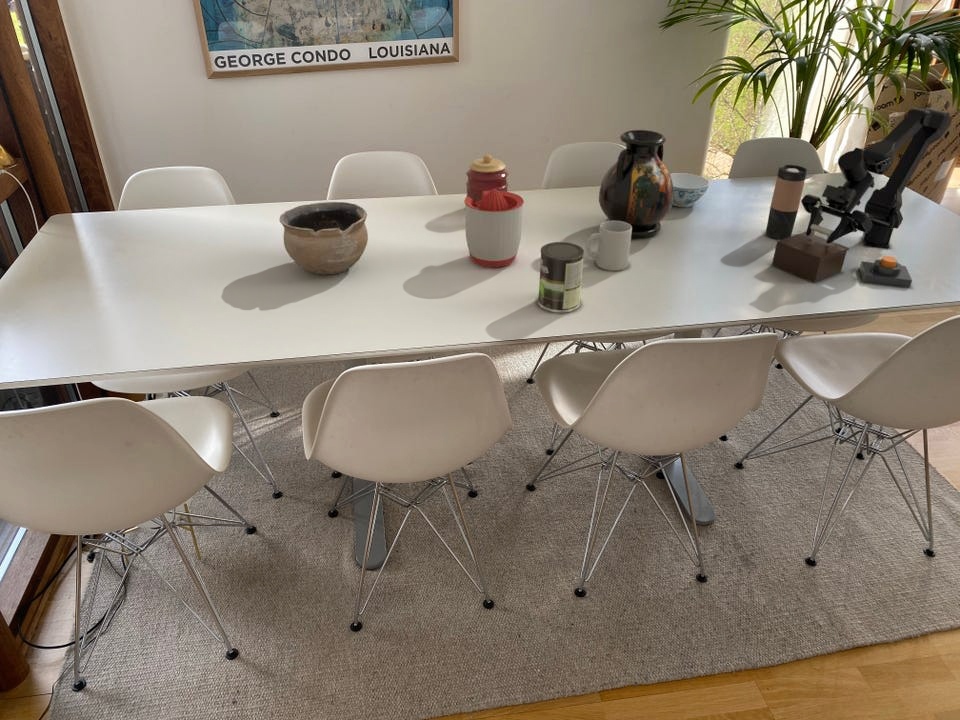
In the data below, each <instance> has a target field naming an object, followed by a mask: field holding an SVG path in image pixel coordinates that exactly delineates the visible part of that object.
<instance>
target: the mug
mask: <svg viewBox="0 0 960 720" xmlns="http://www.w3.org/2000/svg"><path fill="white" fill-rule="evenodd" d="M605 221H606V220H605ZM605 221H603V222H601V224H599V230H598V232H595V233H591V234H590V235H589V236H588V238H587V241H586V254H587V255H588V257H589V258H594V259H595V258H596V265H597V267H598V268H600V269H603V270H605V271H612V272H617V271H622V270H625V269H627V268H628V266H629V259H630V251H631V250H630V249H631V242H632V241H631V240H632V238H631V233H632V226H631V225H630V224H628V223H626V222H622V221H606V222H605ZM594 240H598V242H597V249H596V251H592V250H591V246H592V243H593V241H594Z"/></svg>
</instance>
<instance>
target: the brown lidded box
mask: <svg viewBox="0 0 960 720" xmlns="http://www.w3.org/2000/svg"><path fill="white" fill-rule="evenodd" d="M775 244H776V245H775V249H774V253H773V258H772V263H771V266H772V267H776V268H777V269H780V270H783V271H784V272H786V273H790V274H792V275H794V276H796V277H799V278H801V279H804V280H807V281H809V282H811V283H814V284H815V283H818V282H821V281H823V280H826V279H828V278H831V277H833V276H835V275H838V274H841V273H842V270H843V265H844V262H845V258H846V255H847V252H848V251H845V252H842V253H840V254H837V255H834V256H831V257H829V258H826V259H823V260H821V261H820V260H818V259H815V258H812V257H810V256H807V255H805V254H802V253H800V252H797V251H795V250H792V249H790V248H787V247H785V246H782V245H780V244H777V243H775Z"/></svg>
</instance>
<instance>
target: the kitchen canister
mask: <svg viewBox="0 0 960 720" xmlns="http://www.w3.org/2000/svg"><path fill="white" fill-rule="evenodd" d="M468 168H469V169H468V170H466V172H465V174H466V177H467V181H466V183H465V184H466V197H467V196H468V197H469V198H471V199H473V200H472V203H477V202H479V201H482V191H491V190H492V189H496V190H497V191H506V192H508V186H509V183H508V181H507V178H508V176H509V171H507V170H506V163H504V162H502V161H501V160H500V159H497V158H494V157H492V155H491V154H488V153H486V154H484V155H483V157H481V158H477V159H475V160H473V161H472V162H471V163H469V164H468Z"/></svg>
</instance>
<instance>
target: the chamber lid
mask: <svg viewBox="0 0 960 720" xmlns="http://www.w3.org/2000/svg"><path fill="white" fill-rule="evenodd" d="M810 229H811V233H810V235H809V236H807V235H806V231H803V232H800V233H797V234H794V235H791V237H788V238H785V239H782V240H779V239H778V240H777V241H776V244H780V245H782V246H785V247H787V248H790V249H792V250H795V251H797V252H800V253H802V254H805V255H807V256H810V257H812V258H815V259H818V260H820V261H821V260H823V259H826V258H829V257H831V256H834V255H837V254H840V253H842V252H845V251H847V252H848V251H849V250H850V247H848V246H845V245H843V244H841V243H838V242H834V241H833V242H831V243H829V244H827V242H826V241H827V240H828V238H829V236H830V235H831V234H832V233H833V231H834V230H832V229H829V228H827V227H824V226H821V225H815V224H812V225H811V227H810ZM815 233H819V234H822V235H825V236H827V237H826V238H824V237H821V236H818V235H816V234H815Z"/></svg>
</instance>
